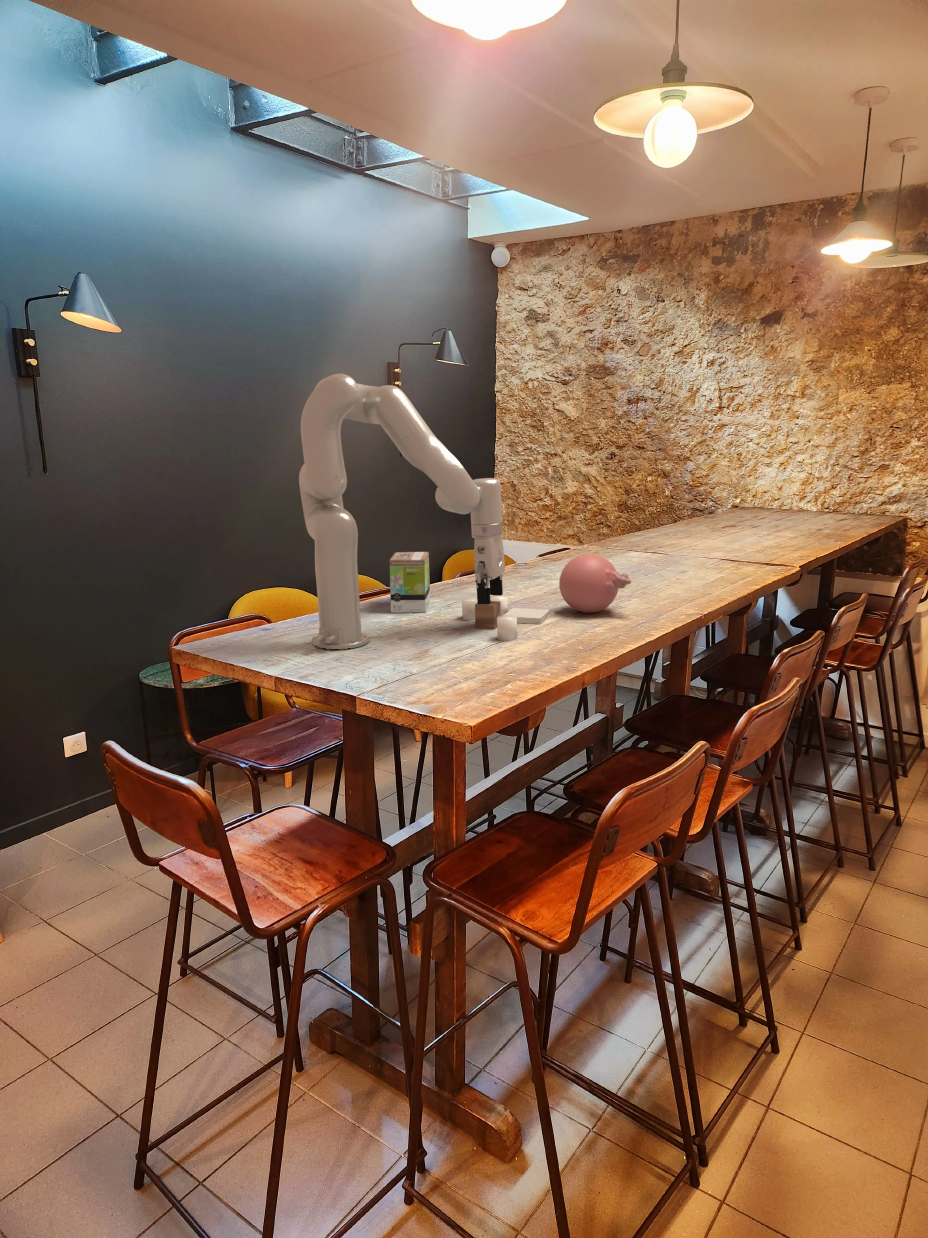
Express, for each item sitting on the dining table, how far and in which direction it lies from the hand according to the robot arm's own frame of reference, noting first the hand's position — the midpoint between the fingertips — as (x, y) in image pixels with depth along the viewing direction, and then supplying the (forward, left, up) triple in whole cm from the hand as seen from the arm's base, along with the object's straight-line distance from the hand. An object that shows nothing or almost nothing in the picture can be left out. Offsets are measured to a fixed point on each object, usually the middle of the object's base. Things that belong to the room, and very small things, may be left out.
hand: (490, 599), depth 195 cm
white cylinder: (+12, +2, -7) cm, 13 cm away
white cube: (+7, +8, -7) cm, 12 cm away
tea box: (+16, +29, -7) cm, 33 cm away
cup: (-10, -7, -7) cm, 15 cm away
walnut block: (0, +1, -7) cm, 7 cm away
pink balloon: (+20, -22, -7) cm, 31 cm away
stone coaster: (+10, -6, -7) cm, 13 cm away
